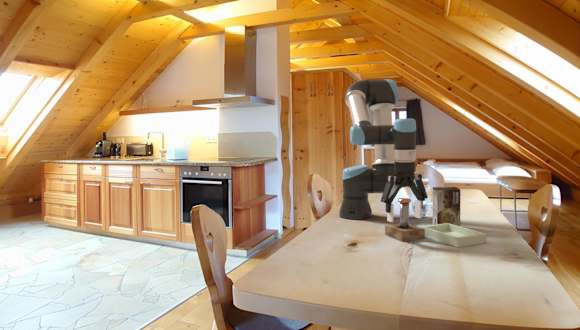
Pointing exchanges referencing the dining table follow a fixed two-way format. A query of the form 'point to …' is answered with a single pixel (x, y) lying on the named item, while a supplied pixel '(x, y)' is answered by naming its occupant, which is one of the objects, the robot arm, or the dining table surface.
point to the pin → (404, 212)
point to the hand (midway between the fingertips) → (404, 219)
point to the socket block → (404, 232)
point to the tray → (454, 235)
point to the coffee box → (446, 205)
